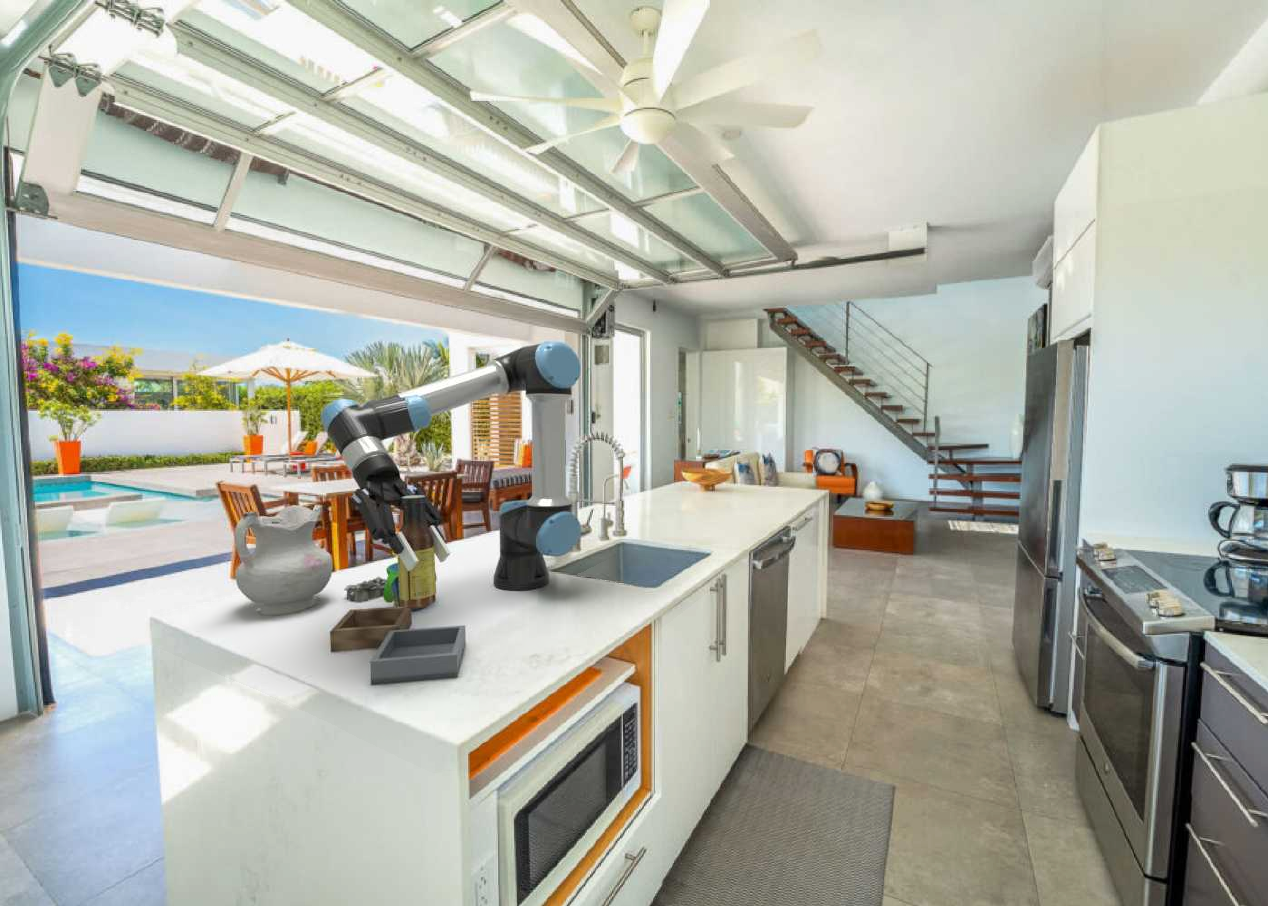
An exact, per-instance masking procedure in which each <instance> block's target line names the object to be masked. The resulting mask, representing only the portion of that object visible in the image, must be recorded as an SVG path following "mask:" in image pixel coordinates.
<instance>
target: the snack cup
mask: <svg viewBox="0 0 1268 906" xmlns="http://www.w3.org/2000/svg"><path fill="white" fill-rule="evenodd" d="M386 573H387V577H386V579H385V580H386V583H385V588H384V594H383V595H382V597H383V600H384V601H385V602H386V603H388V604H389V603H393V604H394V607H401V599H400V598H399V577H398V562H395V563H392V564H390V565H388V566H387V567H386ZM435 577H436V581H437V579H438V578H437V572H436V571H435ZM391 590H392V591H391ZM421 609H422V608H413V609H411V612H412V611H413V612H414V611H416V610H421Z"/></svg>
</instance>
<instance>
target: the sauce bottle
mask: <svg viewBox="0 0 1268 906" xmlns="http://www.w3.org/2000/svg"><path fill="white" fill-rule="evenodd" d="M425 504H426V497H425V496H423V495H412V496H404V497H402V505H403V510H402V511H403V516H402V521H403V522H402V525H401V527H400V529H399V531H398V532H402V534H403V535H404V537H405V538H406V540H407V542H408V543H409V545H410V547H411V548H412V550H413V552H414V553H415V555H416V557H417V558H418V560H419V561H418V563H417V564H416V565H415V567H414V568H413V569H412V570H410V571H408V570H407V569H406V567H405V565H404V563H403V562H402V560H401V558H400V557H399V555H398V554H397V563H398V577H399V598H400V599H401V606H402V607H405V608H410V609H413V608H421V609H423V608H425V607H426V608H427V607H429V606H432V605H433V604H434V603H435V602H436V593H437V584H436V583H437V580H436V577H437V576H436V577H435V572H436V558H435V556H436V554H435V553H434V541H433V538H432V534H431V532H430V530H429V527H428V525H429V523H428V524H427V521H426V516H425Z"/></svg>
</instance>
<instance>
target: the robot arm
mask: <svg viewBox="0 0 1268 906" xmlns="http://www.w3.org/2000/svg"><path fill="white" fill-rule="evenodd" d="M580 375H581V363H580V359H579V357H578V354H577V353H576V352H575V350H573V349H572V347H571V346H570V345H568V344H567V343H564V342H561V341H544V342H541V343H538V344H533V345H527V346H526V345H525V346H523V347H520V348H517V349H515V350H513V351H511V352H509V353H506V354H504V355H501V356H499V357H496V358H493V359H490V360H488V361H487V364H486V365H484V366H481V367H478V368H474V369H471V370H468V371H465V372H462V373H459V374H455V375H452V376H449V377H447V378H442V379H440V380H436V381H433V382H430V383H427V384H424V385H420V386H418V387H414V388H411V389H407V390H405V391H402V392H398V393H395V394H394V395H389V396H385V397H383V398H380V399H376V400H375V399H373V400H369V401H367V402H365V403H363V404H361V406H360V404H358V403H357V402H356V401H355V400H353V399H345V398H340V399H339V398H338V399H336V400H333V401H332V402H329V403H328V404H327V405H326V406H325V407H324V408H323V409H322V410H321V414H320V420H321V423H322V425H323V428H324V430H325V431H326V433H327V436H328V438H330V440H331V442H332V443H333V445H334V447H335V448H336V450H337V452H338V453H339V455H340V456H341V458H342V460H343V462H344V463H345V466H346V467H347V469H348V470H349V472H350V473H351V475H352V478H353V479H354V481H355V482H356V484H357V486H358V488H357V489H356V490H355V492H354V493H353V494H352V495H351V497H350V501H351V502H352V504H353V505H355V506H356V507H357V509H358V511H359V513H360V515H361V517H362V519H363V522H364V523H365V526H366V528H367V530H368V532H369V533H370V536H371V538H372V539H373V540H374V541H378V540H380V541H381V543H382V544H384V545H387V544H388V545H389V548H390V549H391V551H392V553H393V554H395V555H397V556H398V555H399V557H400V558H401V560H402V562H403V563H404V565H405V567H406V569H407V570H408V571H410V570H412V569H413V568H414V567H415V565H416V564H417V563H418V561H419V560H418V558H417V557H416V555H415V553H414V552H413V550H412V548H411V547H410V545H409V543H408V542H407V540H406V538H405V537H404V535H403V534H402V532H399V531H398V532H397V528H396V523H395V519H394V514H393V510H392V507H393V506H394V507H396V508H397V509H399V510H400V511H403V505H402V497H404V496H412V495H423V496H425V497H426V504H425V516H426V521H427V524H428V527H429V530H430V532H431V534H432V538H433V541H434V555H435V556H436V557H437V559H438V561H439V563H444V562H445V561H446V559H447V558H448V557H449V556H450V555H451V553H452V552H451V550H450V549H449V547H448V546H447V544H446V543H445V537H444V535H443V534H442V532H441V530H440V529H439V526H440V524H442V522H443V520H444V519H443V517H442V516H441V514H440V513H439V511H438V510H437V509H436V507H435V506H434V504H433V503H432V502H431V500H430V499H429V498H428V496H427V495H426V494H425V492H424V491H423V487H422V484H421V483H419V482H416V483H414V484H413V485H411V484H407V483H406V481H404V480H403V479H402V477H401V474H400V473H401V472H400V469H399V467H398V466H397V464H396V463H395V461H394V460H393V458H392V457H391V455H390V453H389V452H388V450H387V449H386V447H385V445H384V444H383V442H382V441H384V440H387V439H391V438H395V437H398V436H401V435H405V434H410V433H414V432H418V431H420V430H423V429H425V428H427V427H429V426H430V424H431V422H432V417H434V416H437V415H439V414H443V413H445V412H447V411H451V410H454V409H456V408H459V407H462V406H464V405H467V404H471V403H473V402H477V401H479V400H482V399H484V398H488V397H491V396H493V395H496V394H498V395H500V396H504V395H508V394H511V393H514V392H515V393H516V392H524V391H525V397H526V398H527V399H528V400H529V401H530V402H531V486H532V487H531V496H530V498H529V499H521V500H513V501H505V502H502V503H501V504H500V506H499V514H498V518H499V519H498V520H499V559H498V560H497V561H498V562H497V564H496V567H495V571H494V575H493V585H494V587H496V588H498V589H500V590H508V591H526V590H533V589H537V588H541V587H544V586H546V585H548V584H549V583H550V573H549V569H548V566H547V563H546V560H545V557H544V556H548V557H555V558H556V557H562V556H564V555H567V554H568V553H570V552H571V551H572V550H573V548H574V547H575V546H576V545H577V543H578V542H579V538H580V535H581V523H580V520H579V518H577V517H576V515H575V514H573V510H572V506H573V504H572V500H570V498H569V497H567V492H566V491H567V490H566V489H567V476H566V474H567V472H566V471H567V462H566V461H567V460H566V459H567V448H566V447H567V446H566V445H567V441H566V440H567V435H566V434H567V430H566V429H567V425H566V424H567V420H566V419H567V414H566V412H567V409H566V408H567V405H566V403H567V402H568V401H569V400H570V399H571V398H572V393H573V391H572V390H573V386H575V385H576V383H577V381H578V380H579V378H580ZM373 502H374V504H373ZM374 505H375V506H374Z"/></svg>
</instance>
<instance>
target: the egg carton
mask: <svg viewBox="0 0 1268 906" xmlns="http://www.w3.org/2000/svg"><path fill="white" fill-rule="evenodd" d="M386 580H387V579H385V578H382V577H380V576H377V577H376V578H373V579H370V580H368V581H367V580H364V581H363V582H360V583H356V584H349V585H346V587H344V589H343V591H346V599H347V600H348V601H353V600H354V602H356V603H362V602H367V601H369V599H378V598H379V597H380V596H383V595H384V588H385V583H386ZM391 591H392V590H391Z"/></svg>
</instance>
